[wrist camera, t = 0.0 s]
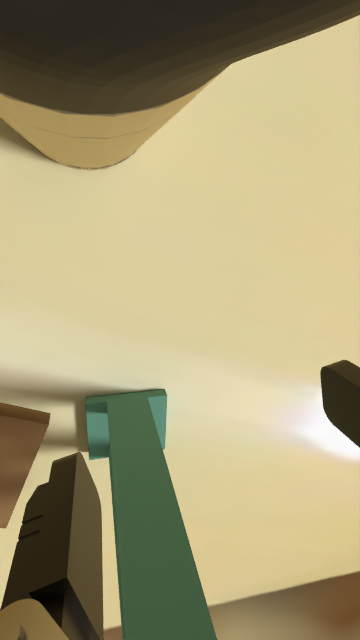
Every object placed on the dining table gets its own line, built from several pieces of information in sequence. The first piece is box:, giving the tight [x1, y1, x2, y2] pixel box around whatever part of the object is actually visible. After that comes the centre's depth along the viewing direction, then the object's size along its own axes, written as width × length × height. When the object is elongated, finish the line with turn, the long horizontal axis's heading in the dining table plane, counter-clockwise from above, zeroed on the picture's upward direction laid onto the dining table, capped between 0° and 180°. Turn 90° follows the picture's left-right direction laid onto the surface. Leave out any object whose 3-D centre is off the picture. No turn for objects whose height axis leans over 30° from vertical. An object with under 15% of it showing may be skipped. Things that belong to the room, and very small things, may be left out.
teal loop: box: [86, 389, 217, 640], centre depth 21 cm, size 6×7×20 cm
